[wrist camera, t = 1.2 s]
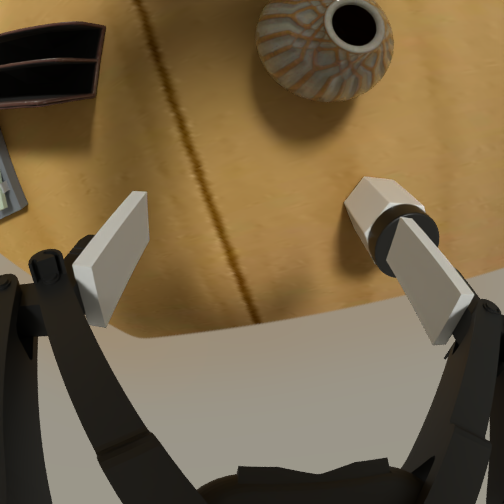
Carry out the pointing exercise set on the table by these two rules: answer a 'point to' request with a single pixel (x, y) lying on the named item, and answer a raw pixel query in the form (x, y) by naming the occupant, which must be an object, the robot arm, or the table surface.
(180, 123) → the table surface
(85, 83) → the letter holder
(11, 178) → the panel
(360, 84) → the vase
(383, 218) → the jar
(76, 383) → the robot arm
